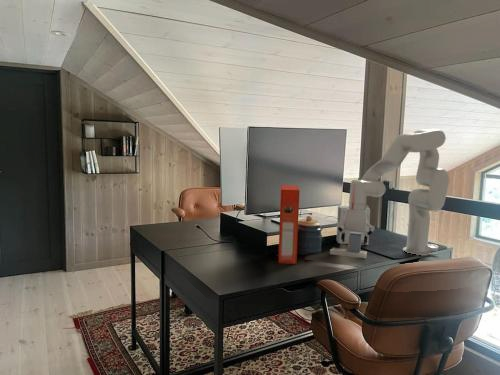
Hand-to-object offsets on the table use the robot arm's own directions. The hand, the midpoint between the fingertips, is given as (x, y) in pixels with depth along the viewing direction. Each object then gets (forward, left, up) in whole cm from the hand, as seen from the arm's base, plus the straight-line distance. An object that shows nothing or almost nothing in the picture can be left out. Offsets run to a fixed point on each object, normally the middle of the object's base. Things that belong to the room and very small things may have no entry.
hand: (353, 242), depth 183 cm
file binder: (+28, +16, -7) cm, 33 cm away
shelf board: (+2, +1, -6) cm, 7 cm away
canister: (+21, +3, -7) cm, 22 cm away
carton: (-1, 0, -5) cm, 5 cm away
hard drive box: (+2, -20, -7) cm, 21 cm away
